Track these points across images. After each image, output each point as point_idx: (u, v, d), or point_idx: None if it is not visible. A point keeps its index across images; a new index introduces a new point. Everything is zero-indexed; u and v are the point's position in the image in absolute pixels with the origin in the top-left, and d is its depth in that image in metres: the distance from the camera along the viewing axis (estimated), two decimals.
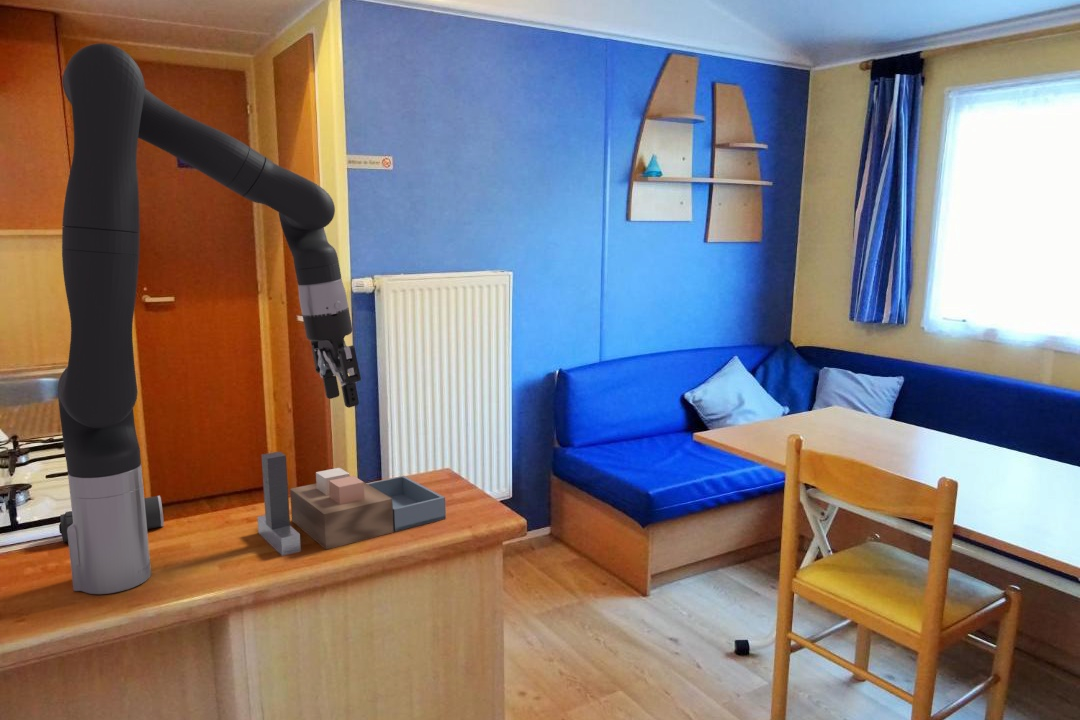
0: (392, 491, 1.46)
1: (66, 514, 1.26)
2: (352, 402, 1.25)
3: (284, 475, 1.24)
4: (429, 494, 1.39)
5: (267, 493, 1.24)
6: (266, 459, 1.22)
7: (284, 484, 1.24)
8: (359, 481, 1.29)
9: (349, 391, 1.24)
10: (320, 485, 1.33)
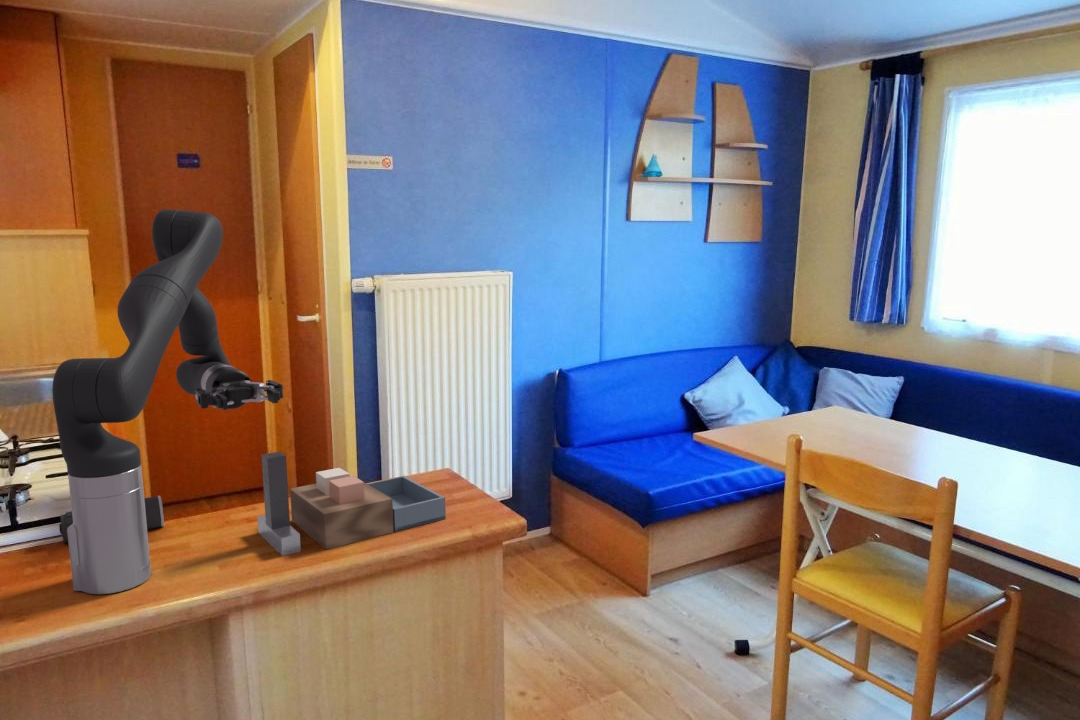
0: (392, 491, 1.46)
1: (66, 514, 1.25)
2: (279, 395, 1.35)
3: (284, 475, 1.24)
4: (429, 494, 1.39)
5: (267, 493, 1.24)
6: (266, 459, 1.22)
7: (284, 484, 1.24)
8: (359, 481, 1.29)
9: None
10: (320, 485, 1.33)
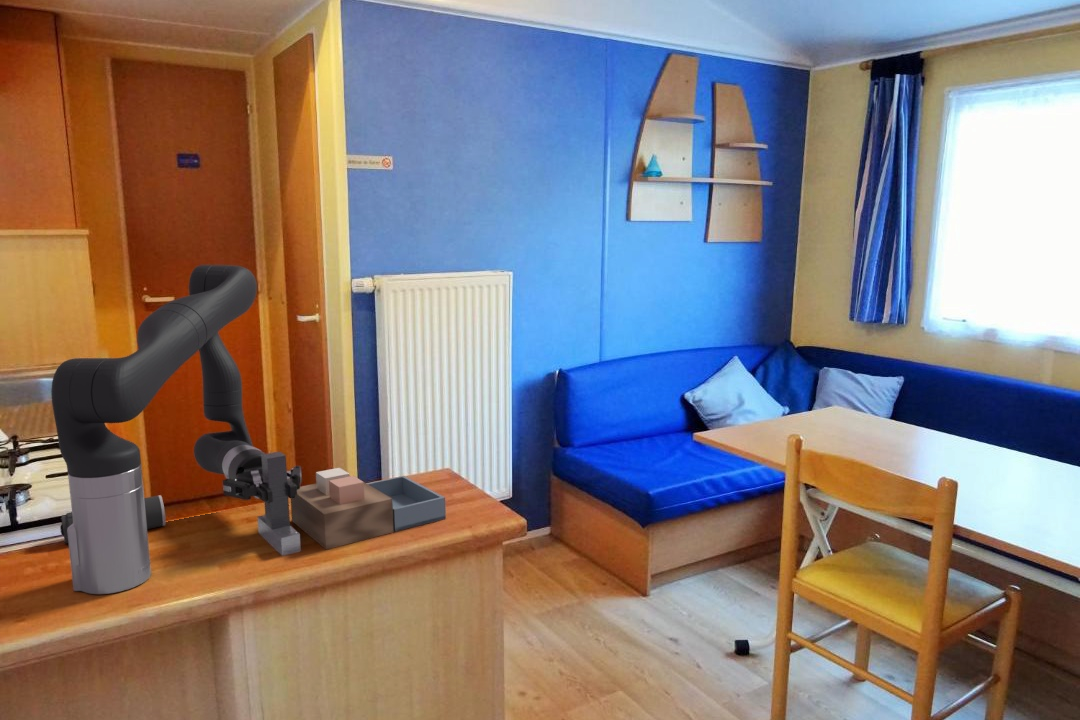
0: (392, 491, 1.46)
1: (67, 515, 1.25)
2: (296, 488, 1.25)
3: (284, 475, 1.24)
4: (429, 494, 1.39)
5: None
6: (266, 459, 1.22)
7: (284, 484, 1.24)
8: (359, 481, 1.29)
9: (292, 484, 1.26)
10: (320, 485, 1.33)
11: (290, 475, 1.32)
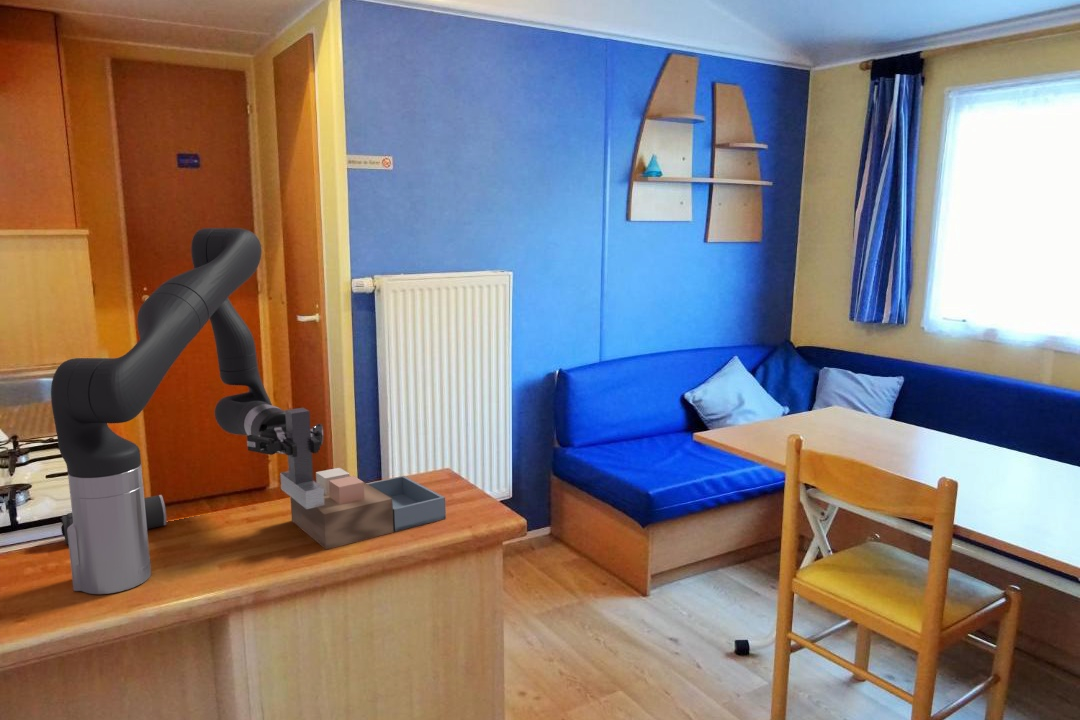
0: (392, 491, 1.46)
1: (69, 515, 1.25)
2: (319, 444, 1.26)
3: (307, 430, 1.25)
4: (429, 494, 1.39)
5: None
6: (290, 414, 1.24)
7: (307, 439, 1.26)
8: (359, 481, 1.29)
9: (315, 440, 1.28)
10: (320, 485, 1.33)
11: (312, 433, 1.33)
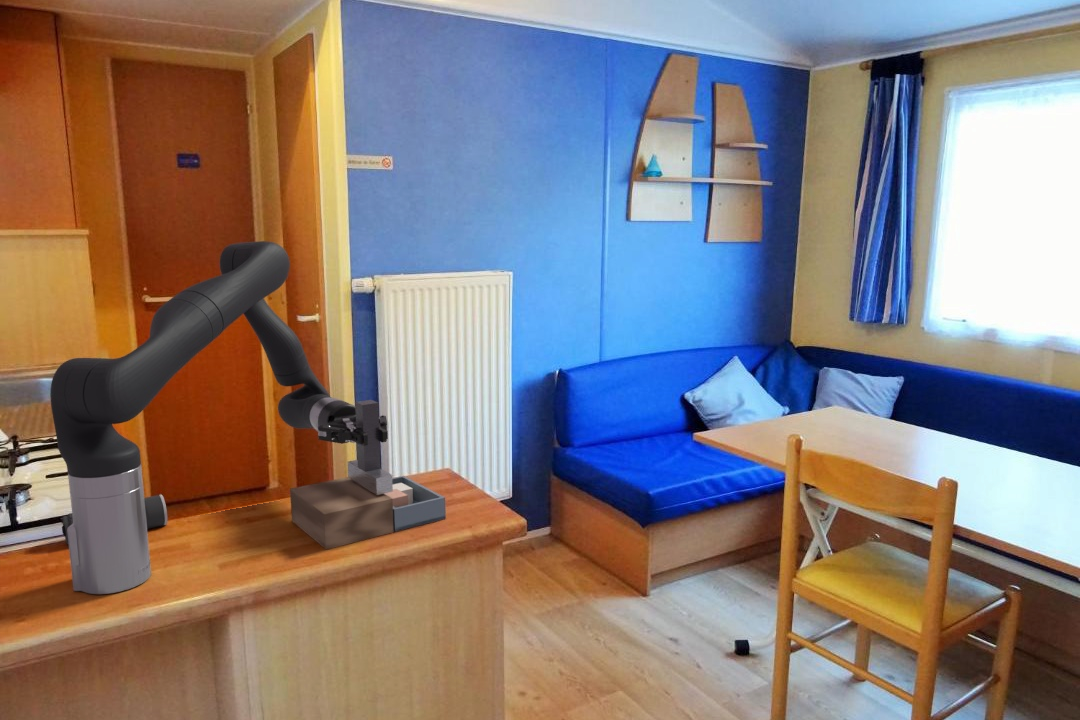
0: None
1: (70, 516, 1.25)
2: (387, 433, 1.34)
3: (376, 421, 1.33)
4: (429, 494, 1.39)
5: None
6: (361, 405, 1.31)
7: (376, 429, 1.33)
8: None
9: None
10: None
11: None
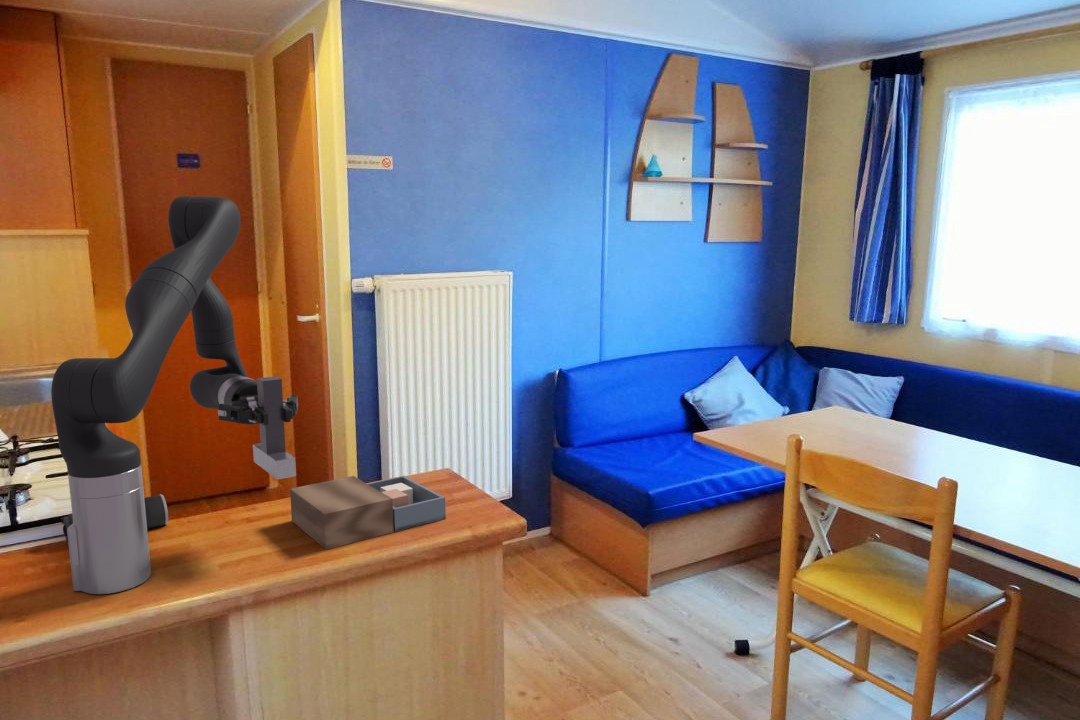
0: None
1: (71, 516, 1.25)
2: (292, 412, 1.23)
3: (280, 399, 1.22)
4: (429, 494, 1.39)
5: None
6: (261, 381, 1.20)
7: (280, 408, 1.22)
8: None
9: None
10: None
11: (286, 403, 1.30)
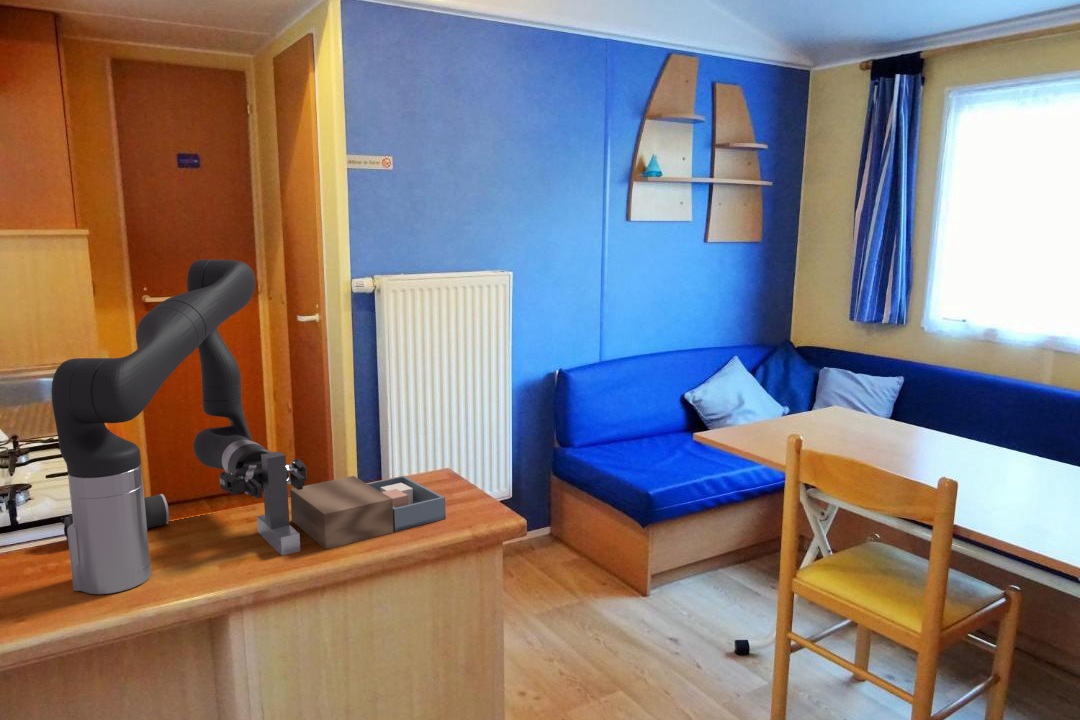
0: None
1: (72, 516, 1.25)
2: (304, 480, 1.26)
3: (284, 475, 1.24)
4: (429, 494, 1.39)
5: (267, 493, 1.24)
6: (266, 458, 1.22)
7: (284, 484, 1.24)
8: None
9: (300, 476, 1.27)
10: None
11: (292, 468, 1.32)
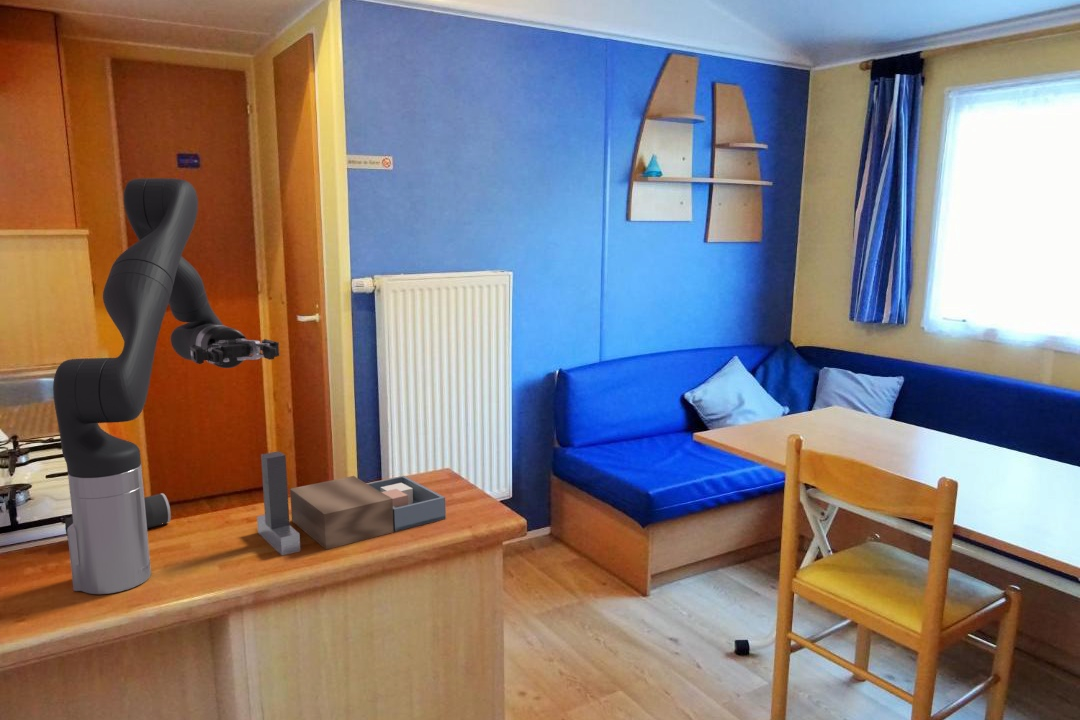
0: None
1: None
2: (275, 351, 1.34)
3: (284, 475, 1.24)
4: (429, 494, 1.39)
5: (267, 493, 1.24)
6: (266, 458, 1.22)
7: (284, 484, 1.24)
8: None
9: None
10: None
11: (262, 346, 1.40)
